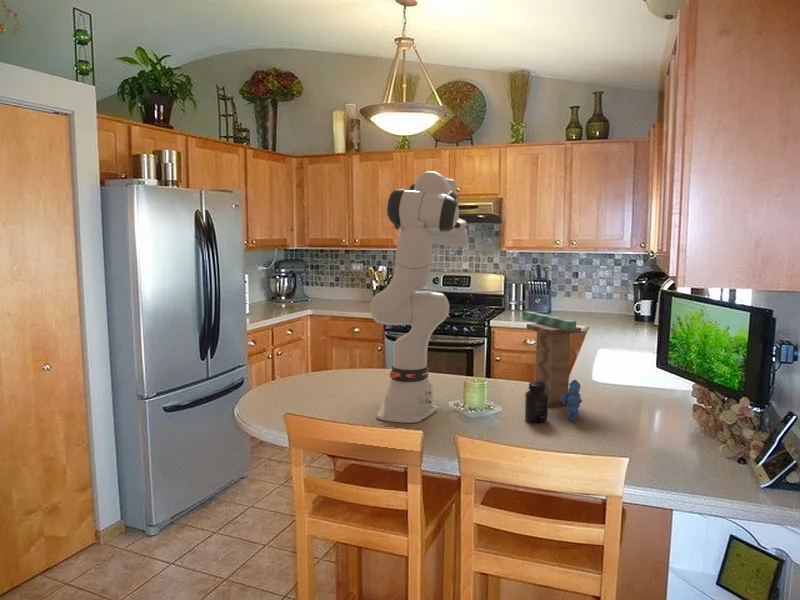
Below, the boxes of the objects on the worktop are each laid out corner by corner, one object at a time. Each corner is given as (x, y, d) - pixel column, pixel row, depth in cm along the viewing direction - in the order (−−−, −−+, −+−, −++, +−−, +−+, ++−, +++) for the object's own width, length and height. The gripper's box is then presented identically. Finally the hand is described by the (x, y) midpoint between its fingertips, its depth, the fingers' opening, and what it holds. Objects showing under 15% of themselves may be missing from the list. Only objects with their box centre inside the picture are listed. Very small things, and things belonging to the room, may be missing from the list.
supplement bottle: (520, 418, 185) (521, 381, 184) (539, 416, 187) (540, 379, 186) (532, 425, 179) (533, 386, 177) (552, 423, 181) (553, 384, 180)
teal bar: (523, 319, 216) (523, 311, 216) (530, 319, 217) (530, 311, 217) (568, 330, 192) (568, 321, 192) (576, 330, 193) (576, 321, 193)
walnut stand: (525, 396, 209) (526, 324, 206) (553, 393, 213) (555, 321, 210) (549, 407, 196) (551, 330, 193) (578, 403, 201) (581, 328, 197)
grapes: (561, 411, 192) (561, 375, 191) (582, 413, 190) (583, 377, 189) (557, 422, 181) (558, 384, 180) (580, 425, 179) (581, 386, 178)
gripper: (414, 218, 228) (412, 253, 232) (467, 225, 222) (463, 260, 227) (419, 216, 234) (416, 250, 238) (470, 222, 228) (466, 256, 232)
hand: (440, 255), depth 232 cm, fingers open, 8 cm apart
